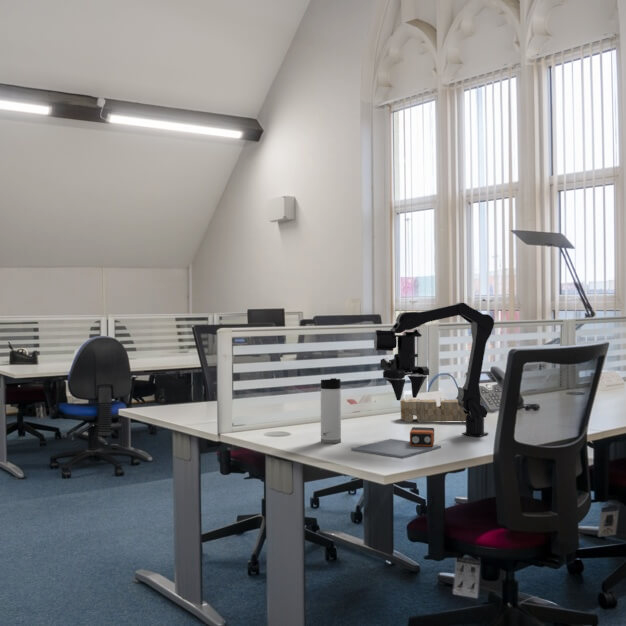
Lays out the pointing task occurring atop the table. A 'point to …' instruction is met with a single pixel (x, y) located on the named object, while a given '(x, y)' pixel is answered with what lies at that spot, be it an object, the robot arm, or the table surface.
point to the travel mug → (331, 411)
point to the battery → (422, 437)
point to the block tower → (431, 410)
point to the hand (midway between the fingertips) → (406, 398)
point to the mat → (394, 448)
